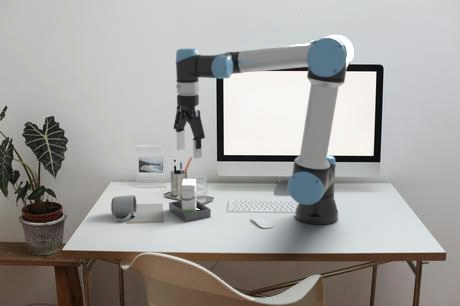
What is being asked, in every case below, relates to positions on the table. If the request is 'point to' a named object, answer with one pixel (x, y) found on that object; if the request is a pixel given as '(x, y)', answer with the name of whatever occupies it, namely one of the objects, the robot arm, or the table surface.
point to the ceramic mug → (123, 207)
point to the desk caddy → (186, 217)
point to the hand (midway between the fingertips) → (189, 153)
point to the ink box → (189, 195)
